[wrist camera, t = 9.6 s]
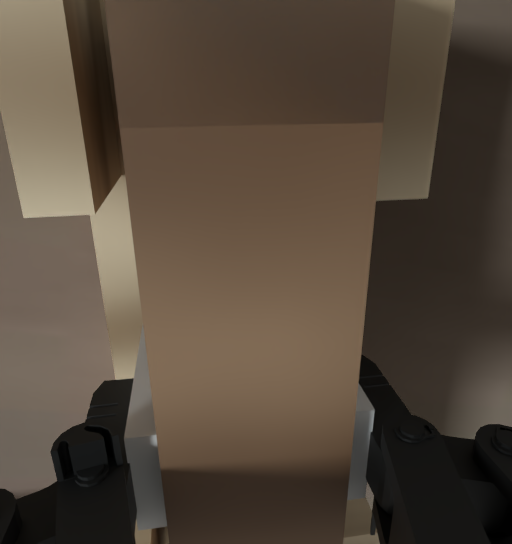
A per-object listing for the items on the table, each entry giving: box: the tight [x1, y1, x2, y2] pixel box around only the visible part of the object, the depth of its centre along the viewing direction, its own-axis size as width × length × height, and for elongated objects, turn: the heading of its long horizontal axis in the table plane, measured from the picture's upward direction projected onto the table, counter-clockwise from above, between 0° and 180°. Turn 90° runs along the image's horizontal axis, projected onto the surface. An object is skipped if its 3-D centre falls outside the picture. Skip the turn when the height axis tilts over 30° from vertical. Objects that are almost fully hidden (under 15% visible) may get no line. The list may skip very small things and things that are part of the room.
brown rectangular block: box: [104, 0, 395, 544], centre depth 13 cm, size 20×4×7 cm, turn 1°
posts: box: [0, 0, 455, 544], centre depth 16 cm, size 21×9×8 cm, turn 1°
